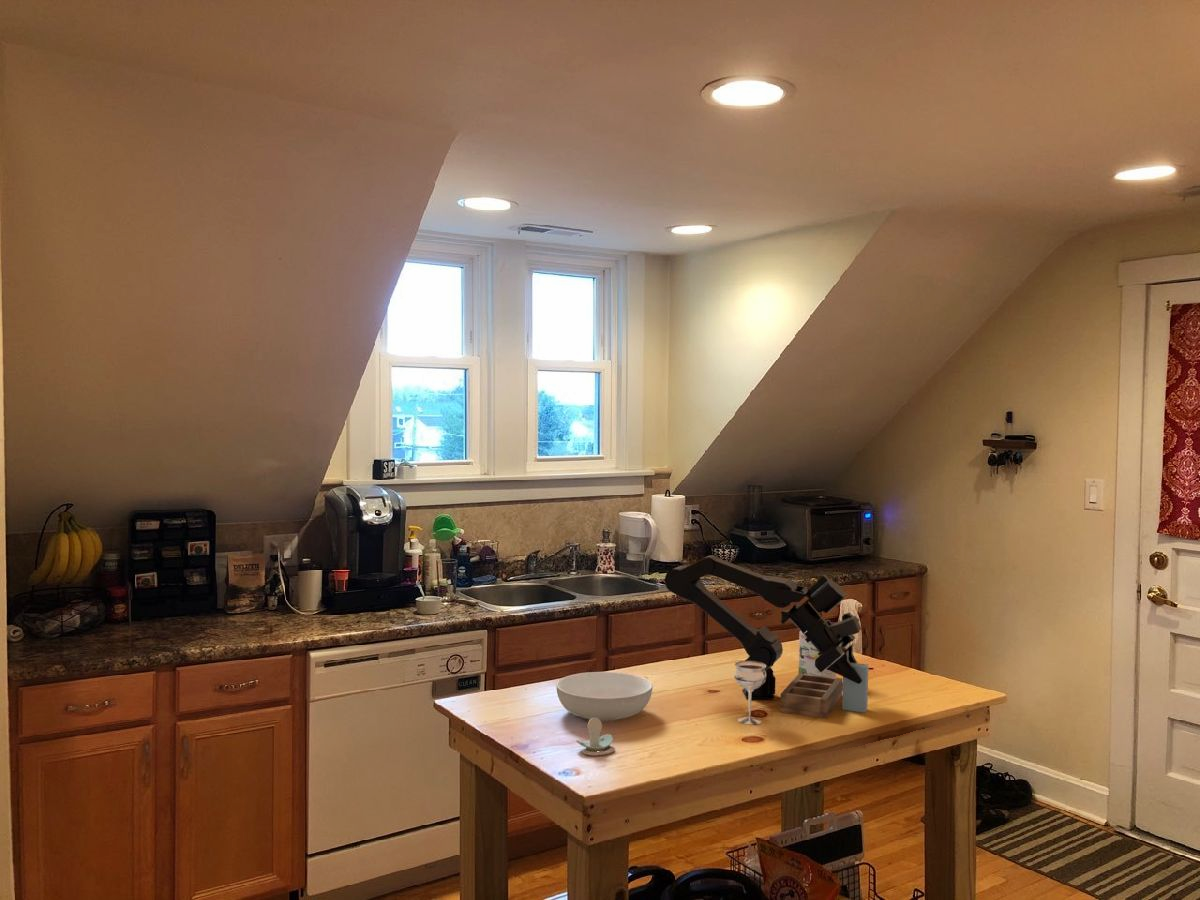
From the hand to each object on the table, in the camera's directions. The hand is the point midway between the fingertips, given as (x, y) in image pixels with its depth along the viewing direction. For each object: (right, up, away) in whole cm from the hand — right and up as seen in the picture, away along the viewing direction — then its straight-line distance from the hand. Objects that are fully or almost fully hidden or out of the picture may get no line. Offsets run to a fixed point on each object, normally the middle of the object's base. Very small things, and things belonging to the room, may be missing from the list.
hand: (861, 680), depth 206 cm
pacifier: (-59, -7, -27) cm, 65 cm away
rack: (-10, -6, +5) cm, 13 cm away
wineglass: (-26, -7, -8) cm, 28 cm away
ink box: (-4, -6, +24) cm, 25 cm away
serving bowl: (-57, -6, -5) cm, 58 cm away
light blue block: (-1, -7, +1) cm, 7 cm away
